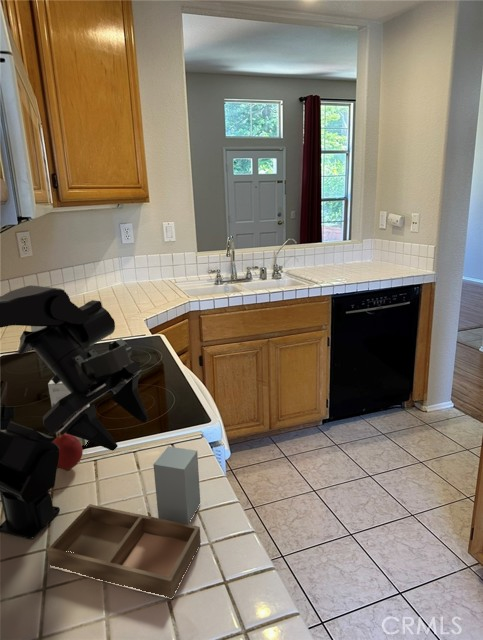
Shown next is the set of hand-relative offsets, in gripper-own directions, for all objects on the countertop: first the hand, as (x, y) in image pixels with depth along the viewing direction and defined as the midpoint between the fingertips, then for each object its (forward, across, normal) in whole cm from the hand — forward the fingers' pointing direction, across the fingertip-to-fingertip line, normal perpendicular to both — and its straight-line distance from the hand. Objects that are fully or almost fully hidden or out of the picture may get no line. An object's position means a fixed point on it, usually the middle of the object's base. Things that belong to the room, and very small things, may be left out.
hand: (131, 434), depth 68 cm
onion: (-3, +5, +22) cm, 22 cm away
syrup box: (-6, +14, +25) cm, 29 cm away
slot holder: (+12, -10, +6) cm, 17 cm away
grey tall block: (+14, 0, +3) cm, 15 cm away
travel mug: (-43, +65, +61) cm, 99 cm away
